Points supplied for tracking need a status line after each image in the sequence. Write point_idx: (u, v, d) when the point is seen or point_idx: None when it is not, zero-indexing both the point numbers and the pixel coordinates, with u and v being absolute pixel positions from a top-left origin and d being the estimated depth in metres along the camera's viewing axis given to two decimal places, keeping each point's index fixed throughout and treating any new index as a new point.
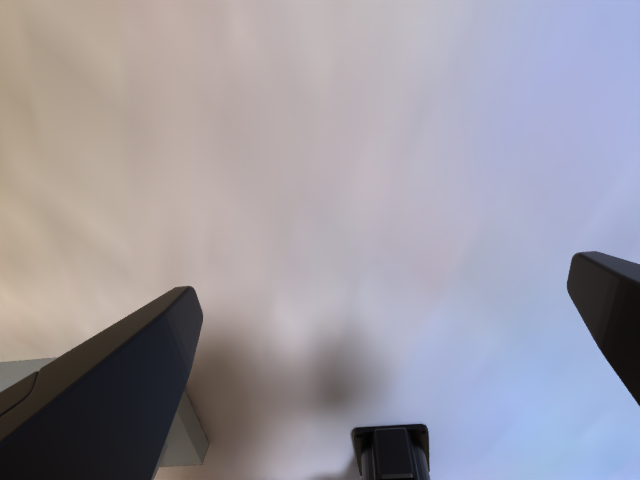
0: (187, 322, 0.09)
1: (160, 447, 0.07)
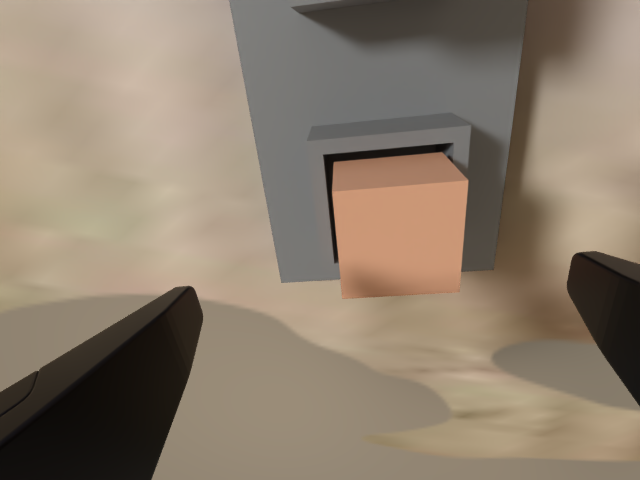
0: (187, 322, 0.09)
1: (160, 447, 0.07)
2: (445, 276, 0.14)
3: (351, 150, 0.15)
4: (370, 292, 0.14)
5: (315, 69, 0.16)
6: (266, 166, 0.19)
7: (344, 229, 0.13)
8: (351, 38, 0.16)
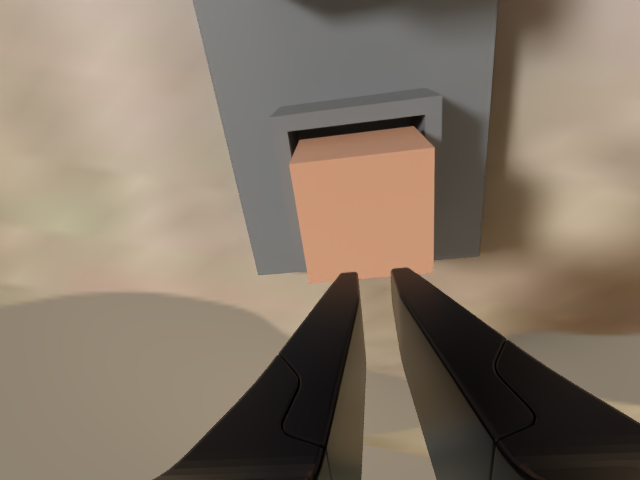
0: None
1: (362, 438, 0.07)
2: (417, 255, 0.13)
3: (317, 126, 0.14)
4: (338, 275, 0.13)
5: (280, 44, 0.16)
6: (235, 151, 0.18)
7: (305, 205, 0.12)
8: (316, 10, 0.15)
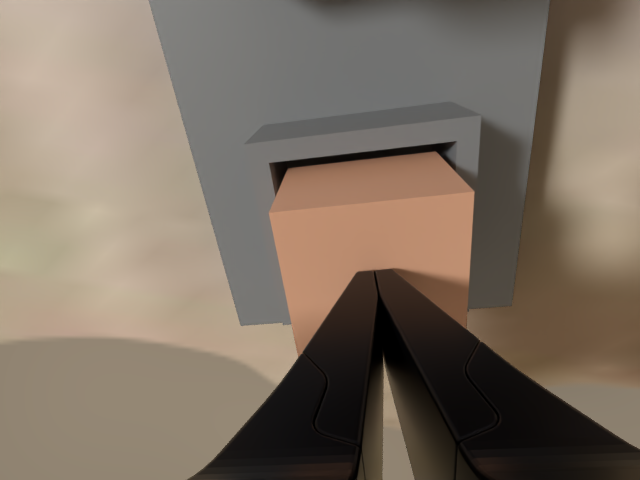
0: None
1: (382, 437, 0.07)
2: None
3: (309, 156, 0.10)
4: None
5: (261, 45, 0.12)
6: (208, 179, 0.14)
7: (292, 266, 0.09)
8: (308, 0, 0.11)
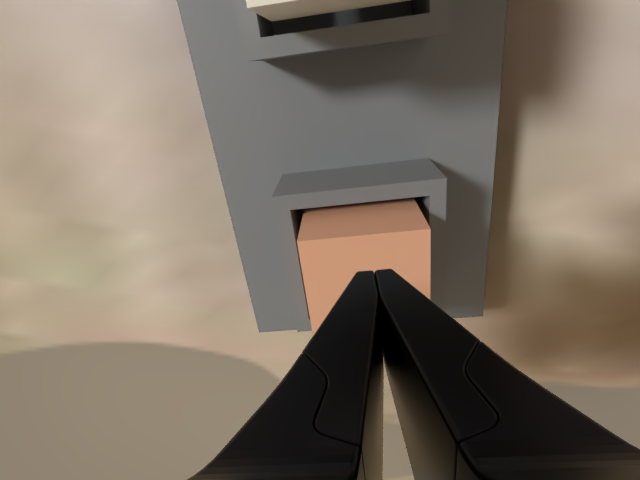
0: None
1: (382, 437, 0.07)
2: None
3: (320, 205, 0.14)
4: None
5: (283, 116, 0.16)
6: (237, 215, 0.18)
7: (311, 276, 0.13)
8: (319, 85, 0.15)
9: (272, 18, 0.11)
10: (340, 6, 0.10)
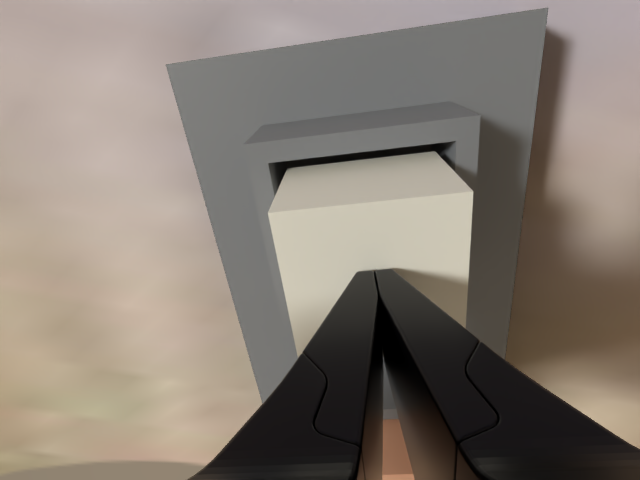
0: None
1: (382, 437, 0.07)
2: None
3: None
4: None
5: None
6: (264, 387, 0.19)
7: None
8: None
9: None
10: None
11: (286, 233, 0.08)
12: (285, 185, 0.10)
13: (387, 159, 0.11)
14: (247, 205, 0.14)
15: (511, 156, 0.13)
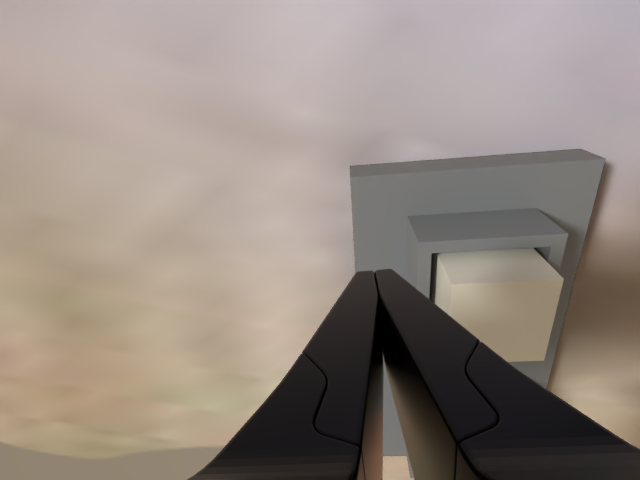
0: None
1: (382, 438, 0.07)
2: None
3: None
4: None
5: None
6: None
7: None
8: None
9: None
10: None
11: (459, 295, 0.15)
12: (444, 261, 0.17)
13: None
14: (385, 264, 0.21)
15: (571, 242, 0.20)
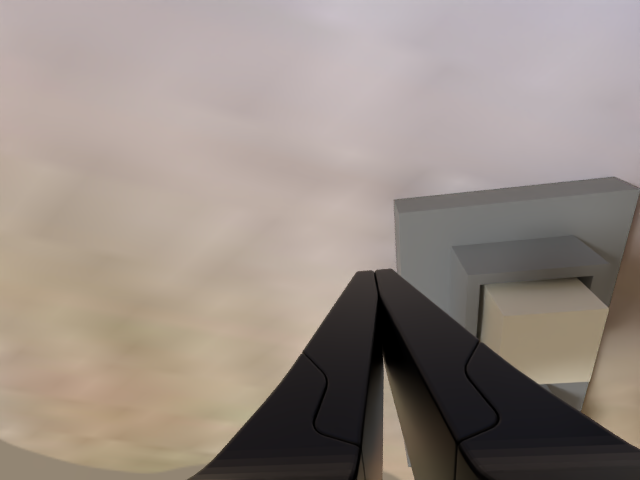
0: None
1: (382, 437, 0.07)
2: None
3: None
4: None
5: None
6: None
7: None
8: None
9: None
10: None
11: (510, 325, 0.17)
12: (492, 292, 0.18)
13: None
14: (429, 290, 0.22)
15: None
